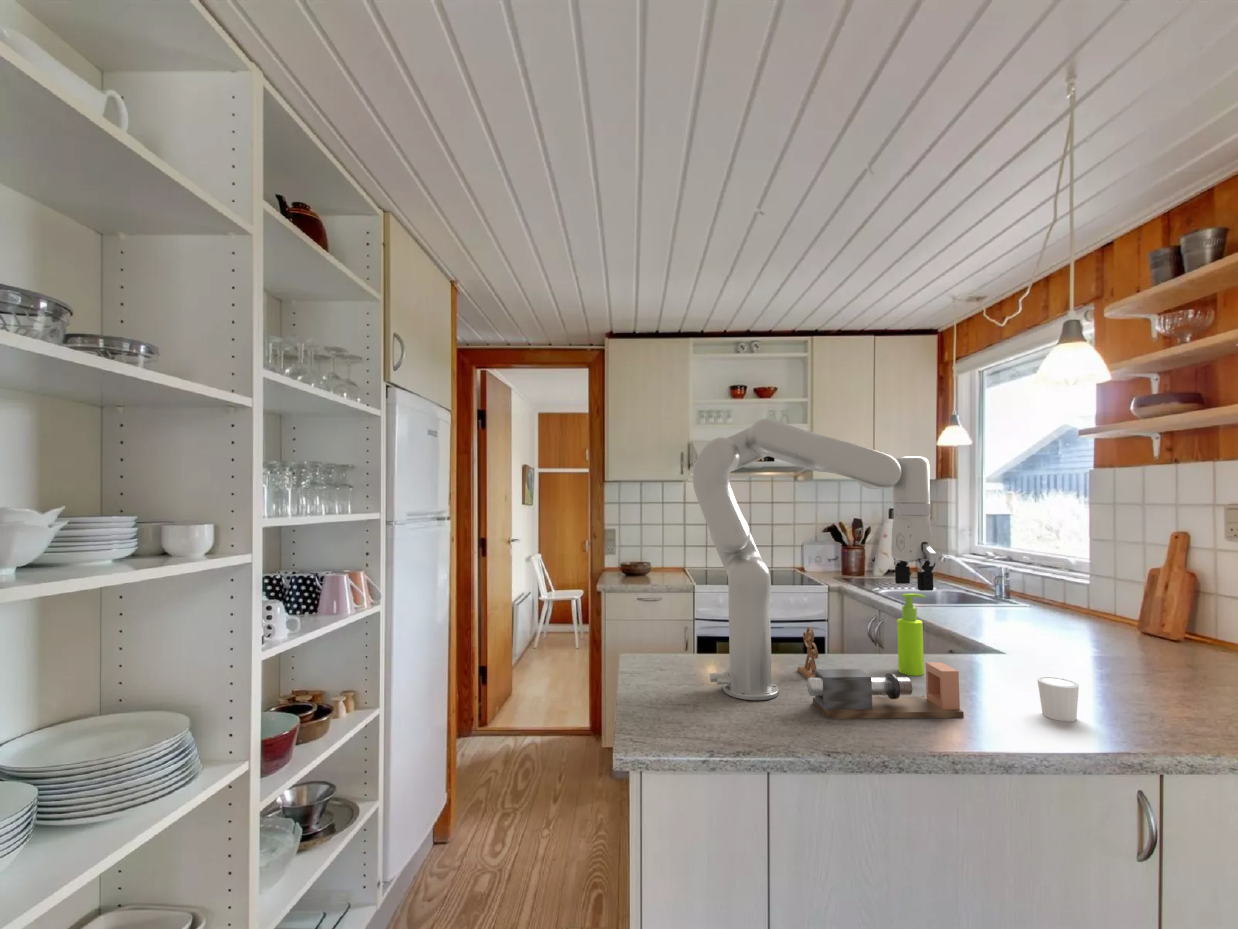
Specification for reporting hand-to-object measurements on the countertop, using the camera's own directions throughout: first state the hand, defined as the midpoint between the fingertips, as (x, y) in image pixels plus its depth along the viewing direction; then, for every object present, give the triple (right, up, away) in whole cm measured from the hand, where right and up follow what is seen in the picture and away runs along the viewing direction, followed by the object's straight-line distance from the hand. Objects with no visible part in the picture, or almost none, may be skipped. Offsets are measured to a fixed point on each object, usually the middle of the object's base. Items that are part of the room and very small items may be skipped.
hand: (913, 586), depth 133 cm
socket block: (+2, -23, -8) cm, 25 cm away
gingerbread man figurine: (-18, -26, +16) cm, 36 cm away
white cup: (+24, -24, -12) cm, 36 cm away
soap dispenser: (+9, -26, +18) cm, 33 cm away
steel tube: (-15, -22, -8) cm, 28 cm away
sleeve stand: (-10, -25, -8) cm, 28 cm away
